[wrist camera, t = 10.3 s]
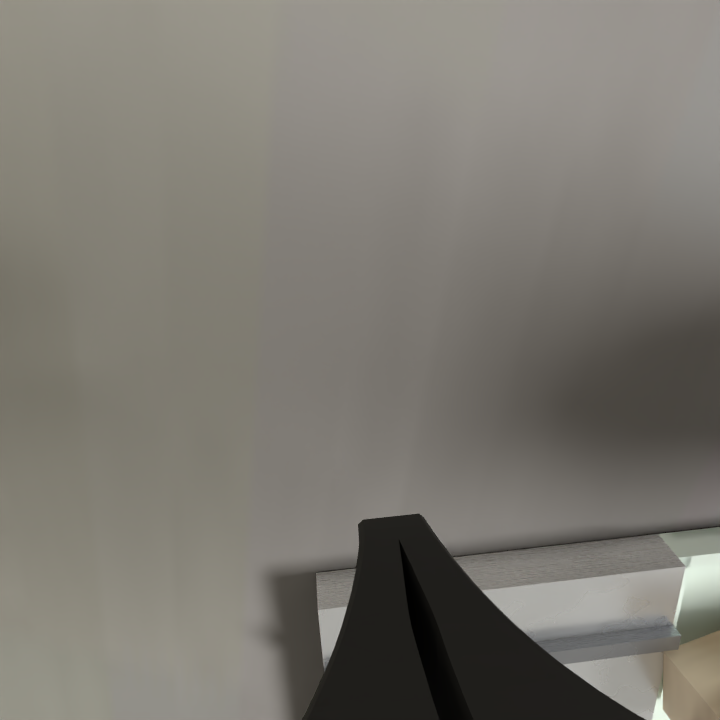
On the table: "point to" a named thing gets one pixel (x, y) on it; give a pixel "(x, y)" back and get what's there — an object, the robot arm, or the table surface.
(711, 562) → the tray
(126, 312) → the table surface
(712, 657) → the tan cube
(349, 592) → the slotted bed
